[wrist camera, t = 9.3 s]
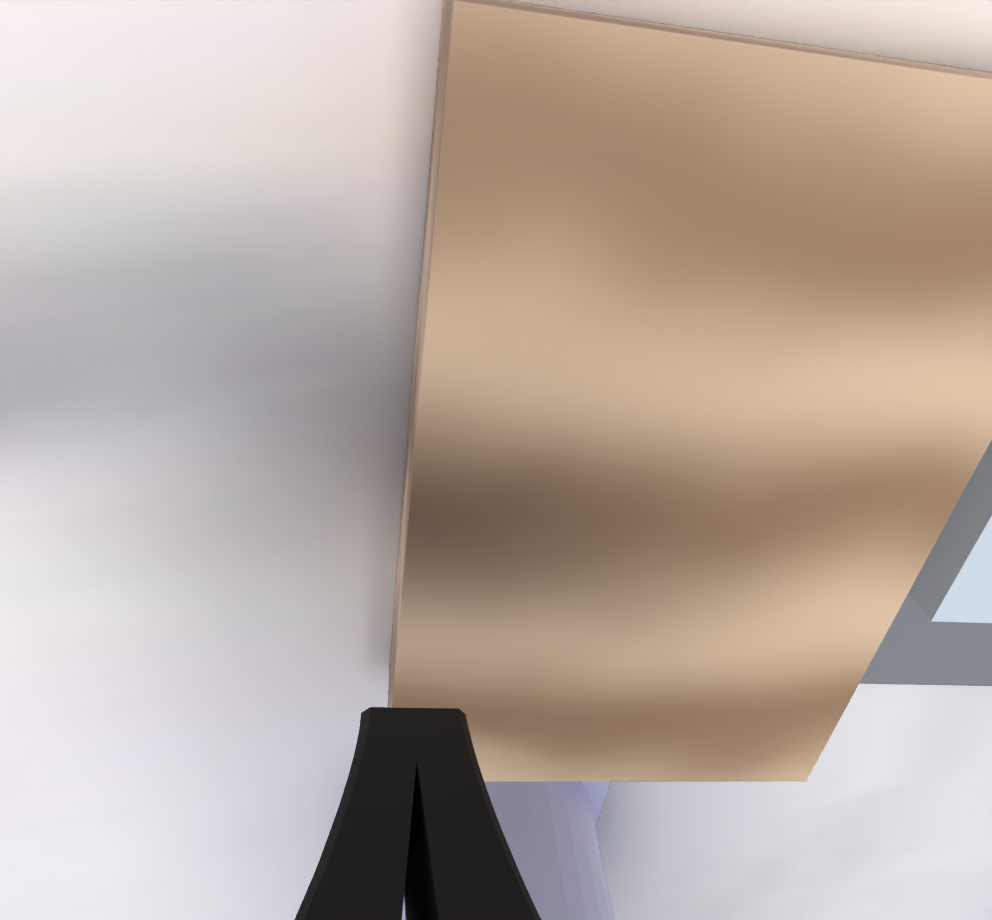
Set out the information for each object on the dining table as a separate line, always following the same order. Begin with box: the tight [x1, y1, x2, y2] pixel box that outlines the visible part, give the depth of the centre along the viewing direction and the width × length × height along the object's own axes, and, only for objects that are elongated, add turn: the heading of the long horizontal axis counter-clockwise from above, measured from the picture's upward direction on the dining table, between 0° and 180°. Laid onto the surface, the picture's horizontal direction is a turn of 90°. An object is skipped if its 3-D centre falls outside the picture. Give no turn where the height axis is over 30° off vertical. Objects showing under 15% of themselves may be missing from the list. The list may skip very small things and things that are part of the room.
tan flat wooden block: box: [388, 0, 992, 782], centre depth 18 cm, size 18×12×4 cm, turn 173°
